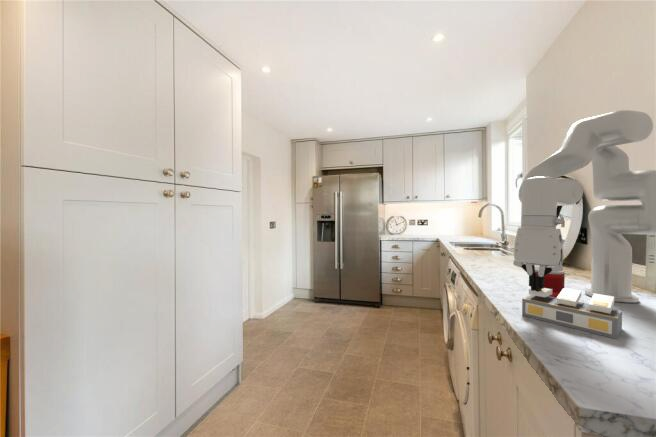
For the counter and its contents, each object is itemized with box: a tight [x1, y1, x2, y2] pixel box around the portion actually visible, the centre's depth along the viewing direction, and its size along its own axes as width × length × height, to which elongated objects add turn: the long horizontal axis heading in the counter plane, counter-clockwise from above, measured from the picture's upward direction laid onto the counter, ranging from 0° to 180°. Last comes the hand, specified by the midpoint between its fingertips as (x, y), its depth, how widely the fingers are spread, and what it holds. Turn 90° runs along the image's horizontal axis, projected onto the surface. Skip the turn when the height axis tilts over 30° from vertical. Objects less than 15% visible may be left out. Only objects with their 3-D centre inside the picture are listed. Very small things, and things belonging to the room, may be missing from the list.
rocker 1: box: [528, 288, 552, 297], centre depth 74 cm, size 7×4×2 cm, turn 127°
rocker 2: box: [557, 287, 582, 307], centre depth 70 cm, size 7×4×2 cm, turn 127°
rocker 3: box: [588, 293, 616, 314], centre depth 65 cm, size 7×4×2 cm, turn 127°
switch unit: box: [521, 294, 623, 340], centre depth 70 cm, size 9×18×5 cm, turn 37°
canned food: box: [535, 266, 566, 298], centre depth 84 cm, size 8×8×11 cm
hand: (536, 290), depth 72 cm, fingers closed
